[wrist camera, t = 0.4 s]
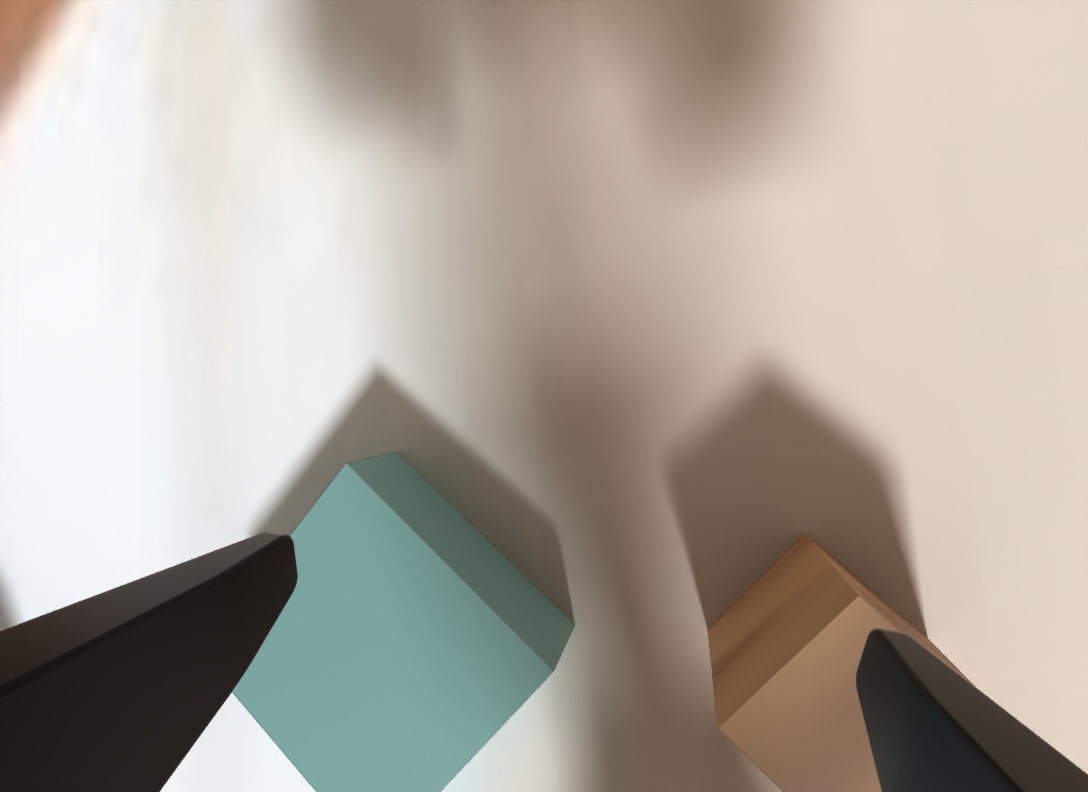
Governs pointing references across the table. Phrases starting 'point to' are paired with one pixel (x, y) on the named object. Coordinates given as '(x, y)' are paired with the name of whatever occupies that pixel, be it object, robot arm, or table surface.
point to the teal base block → (397, 638)
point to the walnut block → (802, 672)
